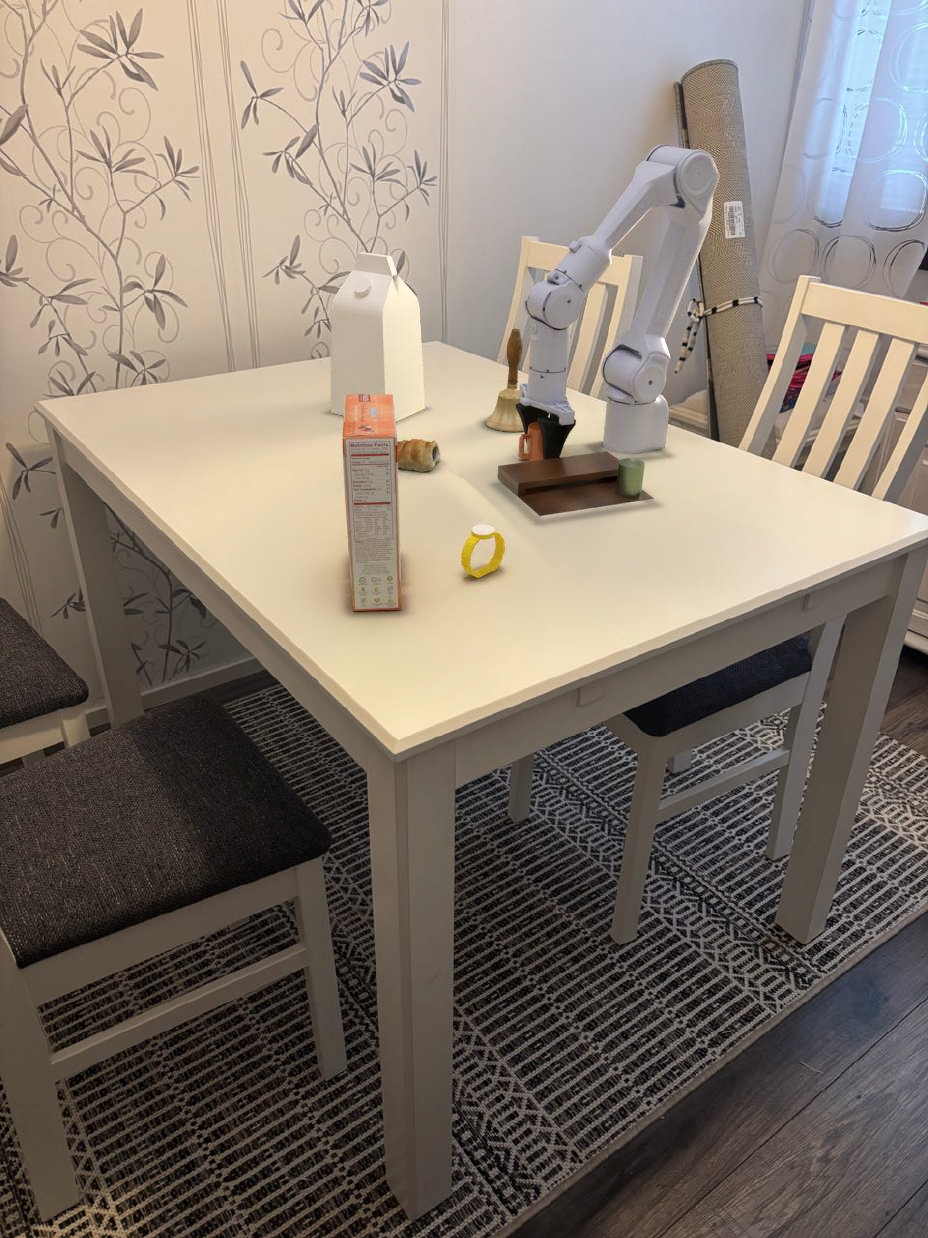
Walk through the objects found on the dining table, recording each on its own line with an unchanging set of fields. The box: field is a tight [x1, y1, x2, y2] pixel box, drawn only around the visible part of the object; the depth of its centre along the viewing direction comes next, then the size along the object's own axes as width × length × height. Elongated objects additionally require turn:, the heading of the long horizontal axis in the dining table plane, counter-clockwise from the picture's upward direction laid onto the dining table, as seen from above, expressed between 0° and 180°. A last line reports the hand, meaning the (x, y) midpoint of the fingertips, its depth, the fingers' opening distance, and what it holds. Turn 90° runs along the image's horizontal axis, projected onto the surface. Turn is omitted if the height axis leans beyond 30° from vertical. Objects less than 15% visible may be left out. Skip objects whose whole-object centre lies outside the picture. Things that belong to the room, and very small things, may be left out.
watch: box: [460, 524, 506, 579], centre depth 116 cm, size 6×3×6 cm, turn 132°
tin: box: [616, 457, 646, 497], centre depth 137 cm, size 4×4×4 cm
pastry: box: [397, 438, 441, 473], centre depth 148 cm, size 9×7×4 cm
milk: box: [330, 251, 426, 423], centre depth 164 cm, size 12×12×26 cm
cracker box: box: [342, 394, 403, 612], centre depth 110 cm, size 14×6×21 cm, turn 5°
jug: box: [518, 422, 544, 462], centre depth 148 cm, size 7×5×6 cm
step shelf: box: [497, 451, 655, 517], centre depth 139 cm, size 18×14×3 cm
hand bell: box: [485, 328, 524, 433], centre depth 161 cm, size 8×8×16 cm
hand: (542, 455), depth 149 cm, fingers open, 5 cm apart
